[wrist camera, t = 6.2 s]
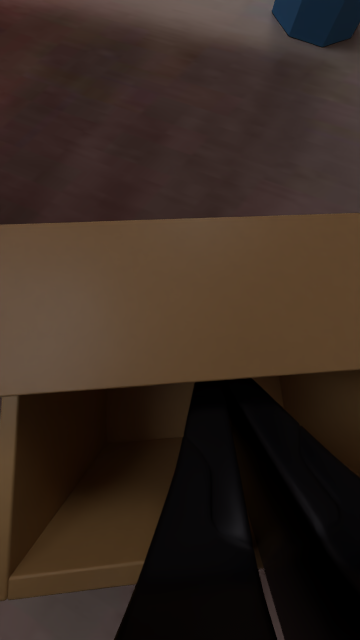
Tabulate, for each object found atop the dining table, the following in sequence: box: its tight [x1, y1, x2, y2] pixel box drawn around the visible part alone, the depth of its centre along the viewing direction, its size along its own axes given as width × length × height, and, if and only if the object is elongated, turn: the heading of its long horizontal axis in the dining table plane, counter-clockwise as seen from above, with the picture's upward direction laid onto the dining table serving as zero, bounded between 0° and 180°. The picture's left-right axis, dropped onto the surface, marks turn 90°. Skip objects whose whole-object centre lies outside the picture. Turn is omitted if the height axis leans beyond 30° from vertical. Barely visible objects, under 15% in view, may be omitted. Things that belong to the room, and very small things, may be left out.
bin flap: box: [0, 213, 360, 397], centre depth 6 cm, size 5×13×1 cm, turn 94°
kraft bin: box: [0, 370, 360, 601], centre depth 11 cm, size 10×13×9 cm
